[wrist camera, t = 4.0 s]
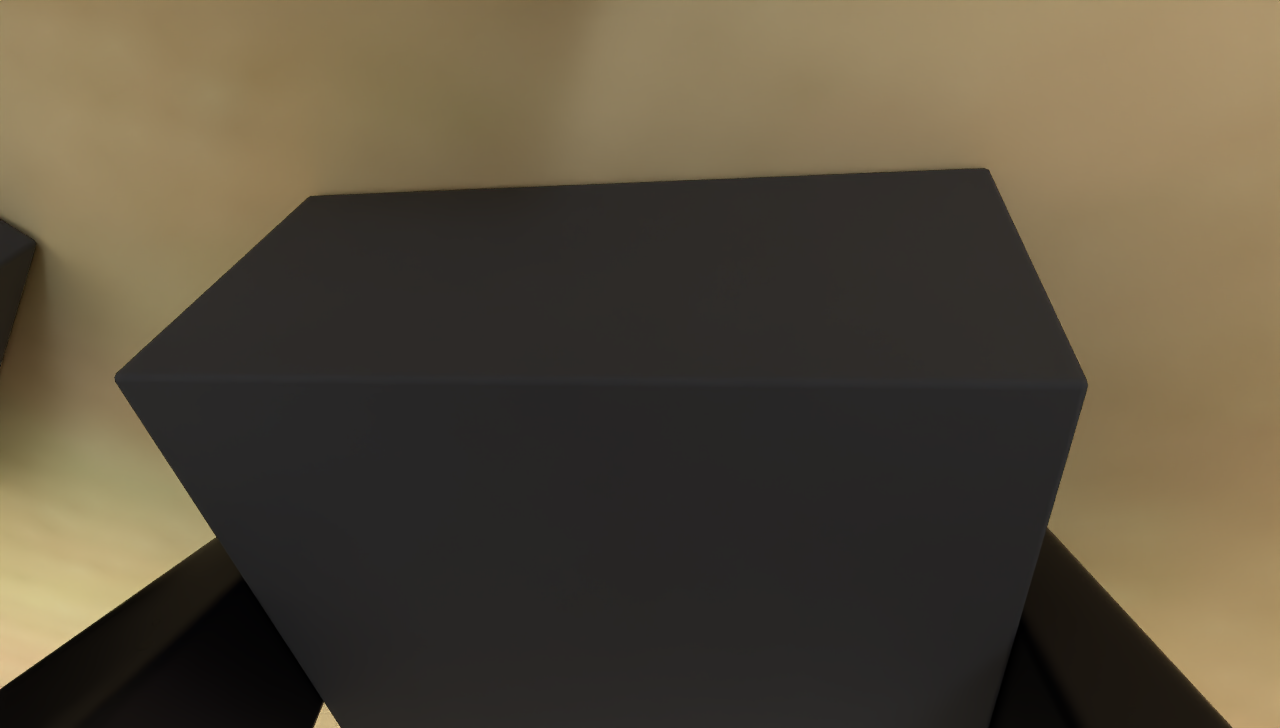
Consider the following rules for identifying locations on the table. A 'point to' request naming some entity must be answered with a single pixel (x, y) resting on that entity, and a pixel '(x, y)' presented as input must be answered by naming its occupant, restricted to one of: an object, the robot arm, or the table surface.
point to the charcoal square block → (632, 448)
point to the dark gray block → (12, 276)
